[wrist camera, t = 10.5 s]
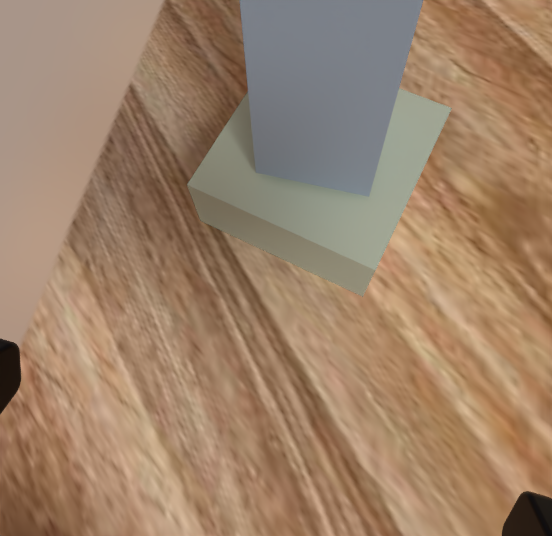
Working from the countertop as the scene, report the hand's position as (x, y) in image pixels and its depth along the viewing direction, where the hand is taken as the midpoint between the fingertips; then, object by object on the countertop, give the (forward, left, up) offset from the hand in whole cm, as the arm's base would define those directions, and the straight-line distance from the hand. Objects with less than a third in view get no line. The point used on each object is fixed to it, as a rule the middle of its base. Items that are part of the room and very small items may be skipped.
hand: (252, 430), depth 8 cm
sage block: (+13, -3, -14) cm, 19 cm away
